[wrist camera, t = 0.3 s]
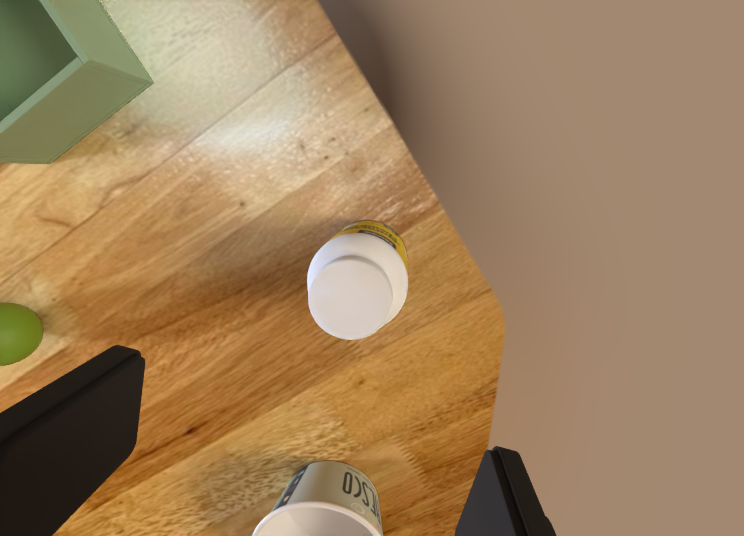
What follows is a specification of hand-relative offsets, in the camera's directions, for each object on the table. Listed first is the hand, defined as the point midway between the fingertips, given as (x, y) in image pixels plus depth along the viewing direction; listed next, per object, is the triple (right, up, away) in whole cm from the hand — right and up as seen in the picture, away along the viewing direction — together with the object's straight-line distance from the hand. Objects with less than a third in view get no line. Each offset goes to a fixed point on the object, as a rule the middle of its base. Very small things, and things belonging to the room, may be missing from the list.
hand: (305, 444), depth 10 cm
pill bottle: (+1, +6, +23) cm, 23 cm away
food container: (-2, -18, +29) cm, 34 cm away
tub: (-23, +21, +21) cm, 38 cm away
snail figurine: (-30, 0, +26) cm, 40 cm away
